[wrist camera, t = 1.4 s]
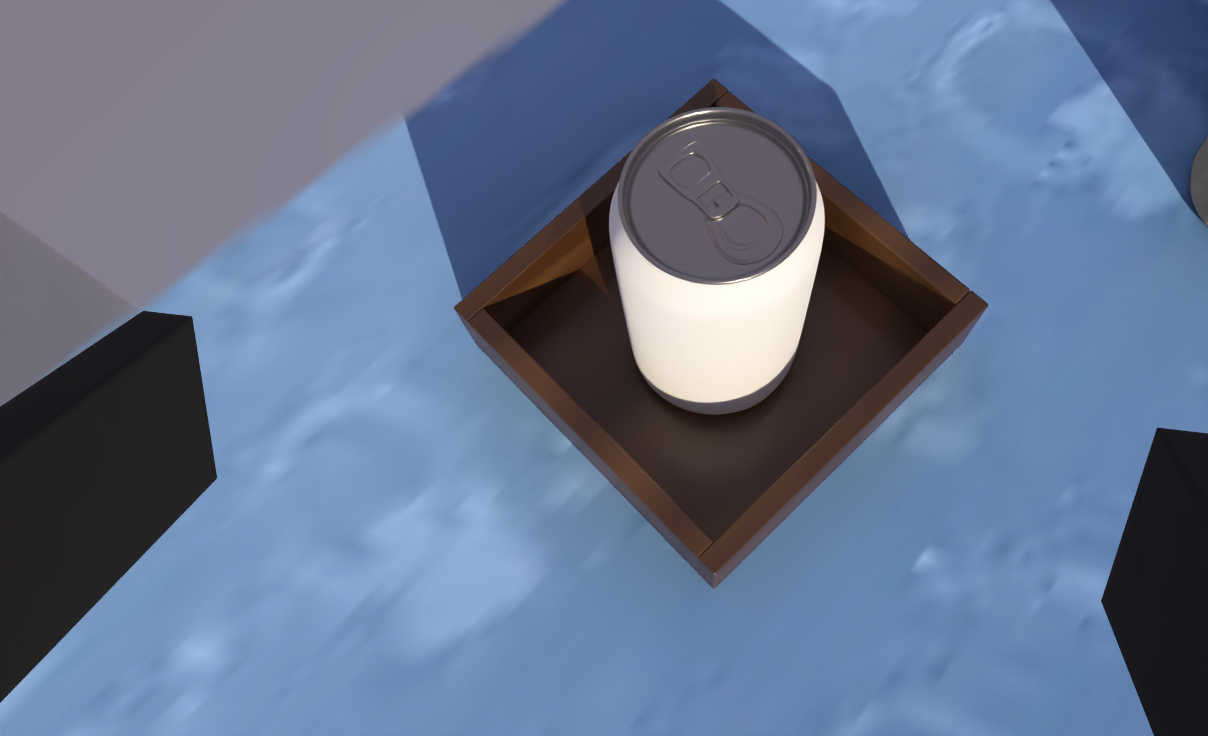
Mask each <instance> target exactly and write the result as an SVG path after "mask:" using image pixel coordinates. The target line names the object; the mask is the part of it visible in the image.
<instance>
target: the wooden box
mask: <svg viewBox="0 0 1208 736" xmlns="http://www.w3.org/2000/svg"><path fill="white" fill-rule="evenodd" d="M710 107H728V108H736V109H742V110H746V111H750V112H753V113H755V112H754V111H752V110H751V109H750V108H749V107H748V106H746V105H745V104H744V103H743V102H742V101H740V100H739V99H738V98H737V97H735V96H734V95H733V94H732V93H731V92H729V91H728V90H727V89H726V88H725V87H724V86H723V85H721V84H720V83H719V82H718V81H717V80H715V79H712V80H711V81H710V82H709V83H708V84H707V85H705V86H704V87H703V88H702V89H701V90H700V91H699V92H698V93H696V94H695V95H694V96H693V97H692V98H691V99H690V100H688V101H687V102H686V103H685V104H684V105H683V106H682V107H681V108H679V109H678V110H677V111H676V112H675V113H674V114H673V115H671V116H670V117H669V118H668V119H670V118H672V117H674V116H676V115H679V114H682V113H685V112H688V111H692V110H696V109H701V108H710ZM668 119H667V120H668ZM631 152H632V151H631ZM631 152H630V153H631ZM630 153H628V154H627V155H626V156H625V157H624V158H623V159H622V160H620V161H619V162H618V163H617V164H616V165H615V166H614V167H612V168H611V169H610V170H609V171H608V172H607V173H606V174H605V175H603V176H602V177H601V178H600V179H599V180H598V181H597V182H595V183H594V184H593V185H592V186H591V187H590V188H589V189H588V190H586V191H585V192H584V193H583V194H582V195H581V196H580V197H578V198H577V199H576V200H575V201H574V202H573V203H572V204H571V205H569V206H568V207H567V208H566V209H565V210H564V211H563V212H561V213H560V214H559V215H558V216H557V217H556V218H555V219H554V220H552V221H551V222H550V223H549V224H548V225H547V226H546V227H544V228H543V229H542V230H541V231H540V232H539V233H538V234H537V235H535V236H534V237H533V238H532V239H531V240H530V241H529V242H527V243H526V244H525V245H524V246H523V247H522V248H521V249H520V250H518V251H517V252H516V253H515V254H514V255H513V256H512V257H510V258H509V259H508V260H507V261H506V262H505V263H504V264H503V265H501V266H500V267H499V268H498V269H497V270H496V271H495V272H493V273H492V274H491V275H490V276H489V277H488V278H487V279H486V280H484V281H483V282H482V283H481V284H480V285H479V286H478V287H476V288H475V289H474V290H473V291H472V292H471V293H470V294H469V295H467V296H466V297H465V298H464V299H463V300H462V301H461V302H459V303H458V304H457V305H456V306H455V307H454V309H455V311H456V313H457V314H458V316H459V317H460V319H461V321H462V322H463V324H464V325H465V327H466V329H467V330H468V332H469V333H470V335H471V337H472V338H473V340H474V341H475V343H476V345H477V346H478V347H479V348H480V349H481V350H482V351H483V352H484V353H485V354H486V355H487V356H488V357H489V358H490V359H491V360H492V361H493V362H494V363H495V364H496V365H497V366H498V367H499V368H500V369H501V370H502V371H503V372H504V374H505V375H506V376H507V377H508V378H509V379H510V380H511V381H512V382H513V383H514V384H515V385H516V386H517V387H518V388H519V389H520V390H521V391H522V392H523V393H524V394H525V395H526V396H527V397H528V398H529V399H530V400H531V401H532V402H533V403H534V404H535V405H536V406H537V408H538V409H539V410H540V411H541V412H542V413H543V414H544V415H545V416H546V417H547V418H548V419H549V420H550V421H551V422H552V423H553V424H554V425H555V426H556V427H557V428H558V429H559V430H560V431H561V432H562V433H563V434H564V435H565V436H566V437H567V438H568V439H569V441H570V442H571V443H572V444H573V445H574V446H575V447H576V448H577V449H578V450H579V451H580V452H581V453H582V454H583V455H584V456H585V457H586V458H587V459H588V460H589V461H590V462H591V463H592V464H593V465H594V466H595V467H596V468H597V469H598V470H599V471H600V472H601V474H602V475H603V476H604V477H605V478H606V479H607V480H608V481H609V482H610V483H611V484H612V485H613V486H614V487H615V488H616V489H617V490H618V491H619V492H620V493H621V494H622V495H623V496H624V497H625V498H626V499H627V500H628V501H629V502H630V503H631V504H632V505H633V506H634V508H635V509H636V510H637V511H638V512H639V513H640V514H641V515H642V516H643V517H644V518H645V519H646V520H647V521H648V522H649V523H650V524H651V525H652V526H653V527H654V528H655V529H656V530H657V531H658V532H659V533H660V534H661V535H662V536H663V537H664V538H665V539H666V541H667V542H668V543H669V544H670V545H671V546H672V547H673V548H674V549H675V550H676V551H677V552H678V553H679V554H680V555H681V556H682V557H683V558H684V559H685V560H686V561H687V562H688V563H689V564H690V565H691V566H692V567H693V568H694V569H695V570H696V571H697V572H698V573H699V575H700V576H701V577H702V578H703V579H704V580H705V581H706V582H707V583H708V584H709V585H710V586H711V587H712V588H716V587H717V586H718V585H719V584H720V583H721V582H722V581H723V580H724V579H725V578H726V577H727V576H728V575H729V574H730V573H731V572H732V571H733V570H734V569H735V568H736V567H737V566H738V565H739V564H740V563H741V562H742V561H743V560H744V559H745V558H746V557H747V556H748V555H749V554H750V553H751V552H752V551H753V550H754V549H755V548H756V547H757V546H758V545H759V544H760V543H761V542H762V541H763V540H764V539H765V538H766V537H767V536H768V535H769V534H770V533H771V532H772V531H773V530H774V529H775V528H776V527H777V526H778V525H779V524H780V523H781V522H783V521H784V520H785V519H786V518H787V517H788V516H789V515H790V514H791V513H792V512H793V511H794V510H795V509H796V508H797V507H798V506H799V505H800V504H801V503H802V502H803V501H804V500H805V499H806V498H807V497H808V496H809V495H810V494H811V493H812V492H813V491H814V490H815V489H816V488H817V487H818V486H819V485H820V484H821V483H822V482H823V481H824V480H825V479H826V478H827V477H828V476H829V475H830V474H831V473H832V472H833V471H834V470H835V469H836V468H837V467H838V466H839V465H840V464H841V463H842V462H843V461H844V460H845V459H846V458H847V457H848V456H849V455H850V454H851V453H852V452H853V451H854V450H855V449H856V448H857V447H858V446H859V445H860V444H861V443H862V442H863V441H864V440H865V439H866V438H867V437H868V436H869V435H870V434H871V433H872V432H873V431H874V430H875V429H876V428H877V427H878V426H879V425H880V424H882V423H883V422H884V421H885V420H886V419H887V418H888V417H889V416H890V415H891V414H892V413H893V412H894V411H895V410H896V409H897V408H898V407H899V406H900V405H901V404H902V403H903V402H904V401H905V400H906V399H907V398H908V397H909V396H910V395H911V394H912V393H913V392H914V391H915V390H916V389H917V388H918V387H919V386H920V385H921V384H922V383H923V382H924V381H925V380H926V379H927V378H928V377H929V376H930V375H931V374H932V373H933V372H934V371H935V370H936V369H937V368H938V367H939V366H940V365H941V364H942V363H943V362H944V361H945V360H946V359H947V358H948V357H949V356H950V355H951V354H952V353H953V352H954V351H955V350H956V349H957V348H958V347H959V346H960V345H961V344H962V343H963V342H964V340H965V339H966V337H967V336H968V334H969V333H970V331H971V330H972V328H973V327H974V326H975V324H976V323H977V321H978V320H979V318H980V317H981V315H982V314H983V312H984V311H985V309H986V308H987V307H988V304H987V303H986V302H985V301H984V300H982V299H981V298H980V297H979V296H978V295H976V294H975V293H974V292H973V291H970V290H969V288H967V287H966V286H965V285H964V284H962V283H961V282H960V281H959V280H958V279H956V278H955V277H954V276H953V275H952V274H950V273H949V272H948V271H947V270H945V269H944V268H943V267H942V266H941V265H939V264H938V263H937V262H936V261H935V260H933V259H932V258H931V257H930V256H928V255H927V254H926V253H925V252H924V251H922V250H921V249H920V248H919V247H918V246H916V245H915V244H914V243H913V242H911V241H910V240H909V239H908V238H907V237H905V236H904V235H903V234H902V233H901V232H899V231H898V230H897V229H896V228H894V227H893V226H892V225H891V224H890V223H888V222H887V221H886V220H885V219H884V218H882V217H881V216H880V215H879V214H877V213H876V212H875V211H874V210H873V209H871V208H870V207H869V206H868V205H867V204H865V203H864V202H863V201H862V200H860V199H859V198H858V197H857V196H856V195H854V194H853V193H852V192H851V191H850V190H848V189H847V188H846V187H845V186H843V185H842V184H841V183H840V182H839V181H837V180H836V179H835V178H834V177H833V176H831V175H830V174H829V173H828V172H826V171H825V170H824V169H823V168H822V167H820V166H819V165H818V164H817V163H816V162H814V161H813V160H812V159H811V158H810V157H808V156H807V157H808V159H809V161H810V164H811V166H812V169H813V172H814V176H815V180H816V182H817V185H818V187H819V190H820V193H821V196H822V200H823V205H824V214H825V228H824V237H823V243H822V249H821V253H820V258H819V262H818V267H817V271H816V275H815V279H814V283H813V287H812V292H811V296H810V300H809V304H808V308H807V312H806V316H805V320H804V324H803V328H802V332H801V336H800V340H799V343H798V347H797V351H796V354H795V357H794V360H793V363H792V365H791V367H790V369H789V371H788V373H787V374H786V376H785V377H784V379H783V380H782V381H781V383H780V384H779V385H778V386H777V387H776V389H775V390H774V391H773V392H772V393H771V394H770V395H768V396H767V397H766V398H765V399H764V400H762V401H761V402H759V403H758V404H756V405H754V406H752V407H750V408H748V409H745V410H742V411H738V412H734V413H728V414H717V415H712V414H701V413H695V412H691V411H688V410H685V409H682V408H680V407H677V406H675V405H673V404H672V403H670V402H668V401H667V400H665V399H664V398H662V397H661V396H660V395H659V394H658V393H656V392H655V391H654V390H653V389H652V388H651V386H650V385H649V384H648V383H647V382H646V380H645V379H644V377H643V376H642V374H641V372H640V370H639V368H638V366H637V364H636V361H635V358H634V355H633V351H632V347H631V343H630V338H629V334H628V329H627V324H626V320H625V315H624V310H623V305H622V300H621V295H620V290H619V285H618V281H617V275H616V270H615V265H614V260H613V255H612V249H611V242H610V234H609V214H610V207H611V202H612V198H613V195H614V192H615V189H616V187H617V184H618V182H619V180H620V176H621V173H622V170H623V167H624V165H625V163H626V161H627V159H628V157H629V155H630ZM969 291H970V292H969Z"/></svg>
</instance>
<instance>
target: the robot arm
mask: <svg viewBox="0 0 1208 736" xmlns="http://www.w3.org/2000/svg"><path fill="white" fill-rule="evenodd" d="M216 479H217V475H216V468H215V462H214V455H213V449H212V442H211V436H210V429H209V423H208V416H207V410H206V404H205V397H204V391H203V384H202V378H201V371H200V365H199V358H198V352H197V345H196V339H195V332H194V326H193V319H192V317H191V316H183V315H174V314H165V313H157V312H148V311H142V312H141V313H139V314H138V315H136V316H135V317H133V318H132V319H131V320H129V321H128V322H126V323H125V324H123V325H122V326H120V327H119V328H117V329H116V330H114V331H113V332H111V333H110V334H108V335H107V336H105V337H104V338H102V339H101V340H99V341H98V342H96V343H95V344H93V345H92V346H90V347H89V348H87V349H86V350H84V351H83V352H81V353H80V354H78V355H77V356H75V357H74V358H72V359H71V360H69V361H68V362H66V363H65V364H63V365H62V366H60V367H59V368H57V369H56V370H55V371H53V372H52V373H50V374H49V375H47V376H46V377H44V378H43V379H41V380H40V381H38V382H37V383H35V384H34V385H32V386H31V387H29V388H28V389H26V390H25V391H23V392H22V393H20V394H19V395H17V396H16V397H14V398H13V399H11V400H10V401H8V402H7V403H5V404H4V405H2V406H1V407H0V702H1V701H2V700H3V699H4V698H5V697H6V696H7V695H8V694H9V693H10V692H11V691H12V690H13V689H14V688H15V687H16V686H17V685H18V684H19V683H20V682H21V681H22V680H23V679H24V678H25V677H26V676H27V675H28V673H29V672H30V671H31V670H32V669H33V668H34V667H35V666H36V665H37V664H38V663H39V662H40V661H41V660H42V659H43V658H44V657H45V656H46V655H47V654H48V653H49V652H50V651H51V650H52V649H53V648H54V647H55V646H56V644H57V643H58V642H59V641H60V640H61V639H62V638H63V637H64V636H65V635H66V634H67V633H68V632H69V631H70V630H71V629H72V628H73V627H74V626H75V625H76V624H77V623H78V622H79V621H80V620H81V619H82V618H83V617H84V615H85V614H86V613H87V612H88V611H89V610H90V609H91V608H92V607H93V606H94V605H95V604H96V603H97V602H98V601H99V600H100V599H101V598H102V597H103V596H104V595H105V594H106V593H107V592H108V591H109V590H110V589H111V588H112V586H113V585H114V584H115V583H116V582H117V581H118V580H119V579H120V578H121V577H122V576H123V575H124V574H125V573H126V572H127V571H128V570H129V569H130V568H131V567H132V566H133V565H134V564H135V563H136V562H137V561H138V560H139V559H140V557H141V556H142V555H143V554H144V553H145V552H146V551H147V550H148V549H149V548H150V547H151V546H152V545H153V544H154V543H155V542H156V541H157V540H158V539H159V538H160V537H161V536H162V535H163V534H164V533H165V532H166V531H167V530H168V528H169V527H170V526H171V525H172V524H173V523H174V522H175V521H176V520H177V519H178V518H179V517H180V516H181V515H182V514H183V513H184V512H185V511H186V510H187V509H188V508H189V507H190V506H191V505H192V504H193V503H194V502H195V501H196V499H197V498H198V497H199V496H200V495H201V494H202V493H203V492H204V491H205V490H206V489H207V488H208V487H209V486H210V485H211V484H212V483H213V482H214V481H215V480H216ZM1101 602H1102V604H1103V607H1104V609H1105V612H1106V614H1107V617H1108V620H1109V622H1110V625H1111V627H1112V630H1113V632H1114V635H1115V637H1116V640H1117V642H1118V645H1119V648H1120V650H1121V653H1122V655H1123V658H1124V660H1125V663H1126V665H1127V668H1128V670H1129V673H1130V676H1131V678H1132V681H1133V683H1134V686H1135V688H1136V691H1137V693H1138V696H1139V698H1140V701H1141V704H1142V706H1143V709H1144V711H1145V714H1146V716H1147V719H1148V721H1149V724H1150V726H1151V729H1152V732H1153V734H1154V736H1208V434H1207V433H1199V432H1190V431H1181V430H1173V429H1164V428H1157V430H1156V433H1155V436H1154V439H1153V442H1152V445H1151V448H1150V452H1149V455H1148V458H1147V461H1146V464H1145V467H1144V470H1143V473H1142V476H1141V479H1140V483H1139V486H1138V489H1137V492H1136V495H1135V498H1134V501H1133V504H1132V507H1131V510H1130V513H1129V517H1128V520H1127V523H1126V526H1125V529H1124V532H1123V535H1122V538H1121V541H1120V544H1119V548H1118V551H1117V554H1116V557H1115V560H1114V563H1113V566H1112V569H1111V572H1110V575H1109V579H1108V582H1107V585H1106V588H1105V591H1104V594H1103V597H1102V600H1101Z"/></svg>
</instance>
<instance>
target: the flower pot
mask: <svg viewBox="0 0 1208 736" xmlns="http://www.w3.org/2000/svg"><path fill="white" fill-rule="evenodd" d="M1191 197H1192V201H1193V204H1194V206H1195V208H1196V211H1197V213H1198V214H1199V216H1200V218H1201V219H1202V221H1203V222H1204V223H1205V225H1206V226H1207V227H1208V136H1207V138H1206V140H1205V141H1204V143H1203V145H1202V146H1201V148H1200V149H1199V151H1198V152H1197V154H1196V156H1195V159H1194V162H1193V166H1192V172H1191Z"/></svg>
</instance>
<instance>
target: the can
mask: <svg viewBox="0 0 1208 736" xmlns="http://www.w3.org/2000/svg"><path fill="white" fill-rule="evenodd" d="M824 228H825V214H824V205H823V200H822V196H821V193H820V190H819V187H818V185H817V182H816V180H815V176H814V172H813V169H812V166H811V164H810V161H809V159H808V157H807V155H806V154H805V152H804V150H803V149H802V148H801V146H800V145H799V144H798V142H797V141H796V140H795V139H794V138H793V137H792V136H791V135H790V134H789V133H788V132H787V131H786V130H784V129H783V128H782V127H780V126H779V125H778V124H776V123H774V122H773V121H771V120H769V119H767V118H765V117H763V116H761V115H758V114H756V113H753V112H750V111H746V110H742V109H736V108H728V107H710V108H701V109H696V110H692V111H688V112H685V113H682V114H679V115H676V116H674V117H672V118H670V119H668V120H666V121H664V122H662V123H661V124H659V125H658V126H656V127H655V128H654V129H652V130H651V131H650V132H649V133H647V134H646V135H645V136H644V137H643V138H642V139H641V140H640V142H639V143H638V144H637V145H636V146H635V148H634V149H633V150H632V152H631V153H630V155H629V157H628V159H627V161H626V163H625V165H624V167H623V170H622V173H621V176H620V180H619V182H618V184H617V187H616V189H615V192H614V195H613V198H612V202H611V207H610V214H609V234H610V242H611V249H612V255H613V260H614V265H615V270H616V275H617V281H618V285H619V290H620V295H621V300H622V305H623V310H624V315H625V320H626V324H627V329H628V334H629V338H630V343H631V347H632V351H633V355H634V358H635V361H636V364H637V366H638V368H639V370H640V372H641V374H642V376H643V377H644V379H645V380H646V382H647V383H648V384H649V385H650V386H651V388H652V389H653V390H654V391H655V392H656V393H658V394H659V395H660V396H661V397H662V398H664V399H665V400H667V401H668V402H670V403H672V404H673V405H675V406H677V407H680V408H682V409H685V410H688V411H691V412H695V413H701V414H712V415H717V414H728V413H734V412H738V411H742V410H745V409H748V408H750V407H752V406H754V405H756V404H758V403H759V402H761V401H762V400H764V399H765V398H766V397H767V396H768V395H770V394H771V393H772V392H773V391H774V390H775V389H776V387H777V386H778V385H779V384H780V383H781V381H782V380H783V379H784V377H785V376H786V374H787V373H788V371H789V369H790V367H791V365H792V363H793V360H794V357H795V354H796V351H797V347H798V343H799V340H800V336H801V332H802V328H803V324H804V320H805V316H806V312H807V308H808V304H809V300H810V296H811V292H812V287H813V283H814V279H815V275H816V271H817V267H818V262H819V258H820V253H821V249H822V243H823V237H824Z"/></svg>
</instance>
